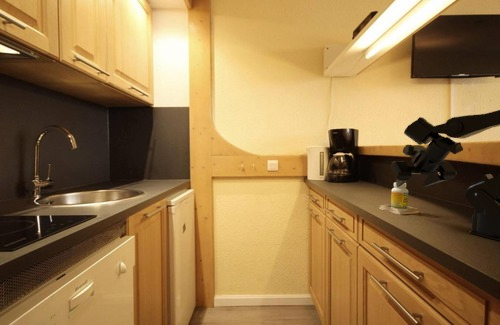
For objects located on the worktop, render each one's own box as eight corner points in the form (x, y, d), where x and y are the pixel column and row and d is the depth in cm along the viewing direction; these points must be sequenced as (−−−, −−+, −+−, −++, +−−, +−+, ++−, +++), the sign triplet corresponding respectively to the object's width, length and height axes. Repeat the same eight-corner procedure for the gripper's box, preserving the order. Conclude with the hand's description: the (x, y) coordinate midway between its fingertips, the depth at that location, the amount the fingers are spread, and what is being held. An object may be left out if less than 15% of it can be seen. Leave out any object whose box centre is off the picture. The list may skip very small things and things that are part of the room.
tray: (419, 212, 93) (419, 208, 93) (400, 214, 90) (400, 210, 90) (397, 207, 102) (397, 203, 102) (379, 209, 99) (379, 205, 99)
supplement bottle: (393, 206, 100) (394, 181, 99) (409, 209, 96) (410, 183, 95) (388, 208, 96) (389, 182, 96) (405, 211, 92) (406, 184, 92)
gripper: (450, 136, 85) (425, 168, 96) (393, 136, 84) (375, 168, 95) (470, 161, 77) (441, 193, 89) (409, 161, 76) (387, 193, 88)
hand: (410, 185), depth 90 cm, fingers open, 9 cm apart
